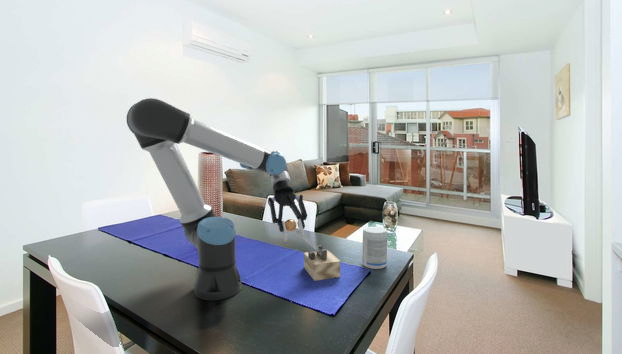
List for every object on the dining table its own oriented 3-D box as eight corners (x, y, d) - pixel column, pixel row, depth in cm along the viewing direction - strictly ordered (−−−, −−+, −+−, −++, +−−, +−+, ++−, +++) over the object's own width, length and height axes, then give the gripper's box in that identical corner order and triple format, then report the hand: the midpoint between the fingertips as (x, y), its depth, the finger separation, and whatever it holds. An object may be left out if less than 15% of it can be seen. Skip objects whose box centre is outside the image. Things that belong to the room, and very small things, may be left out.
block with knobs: (314, 280, 110) (314, 255, 109) (304, 267, 121) (304, 244, 120) (340, 276, 113) (340, 251, 112) (327, 264, 124) (328, 241, 123)
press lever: (321, 261, 114) (283, 228, 108) (317, 256, 118) (280, 224, 112) (329, 252, 115) (291, 218, 108) (325, 248, 119) (288, 215, 112)
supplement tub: (391, 266, 123) (393, 230, 121) (374, 272, 117) (375, 234, 116) (373, 258, 131) (375, 224, 129) (357, 263, 125) (358, 228, 124)
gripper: (302, 189, 127) (317, 239, 113) (257, 192, 121) (267, 246, 107) (306, 177, 121) (322, 229, 108) (259, 180, 115) (270, 236, 102)
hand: (294, 237), depth 108 cm, fingers closed on press lever, 5 cm apart
